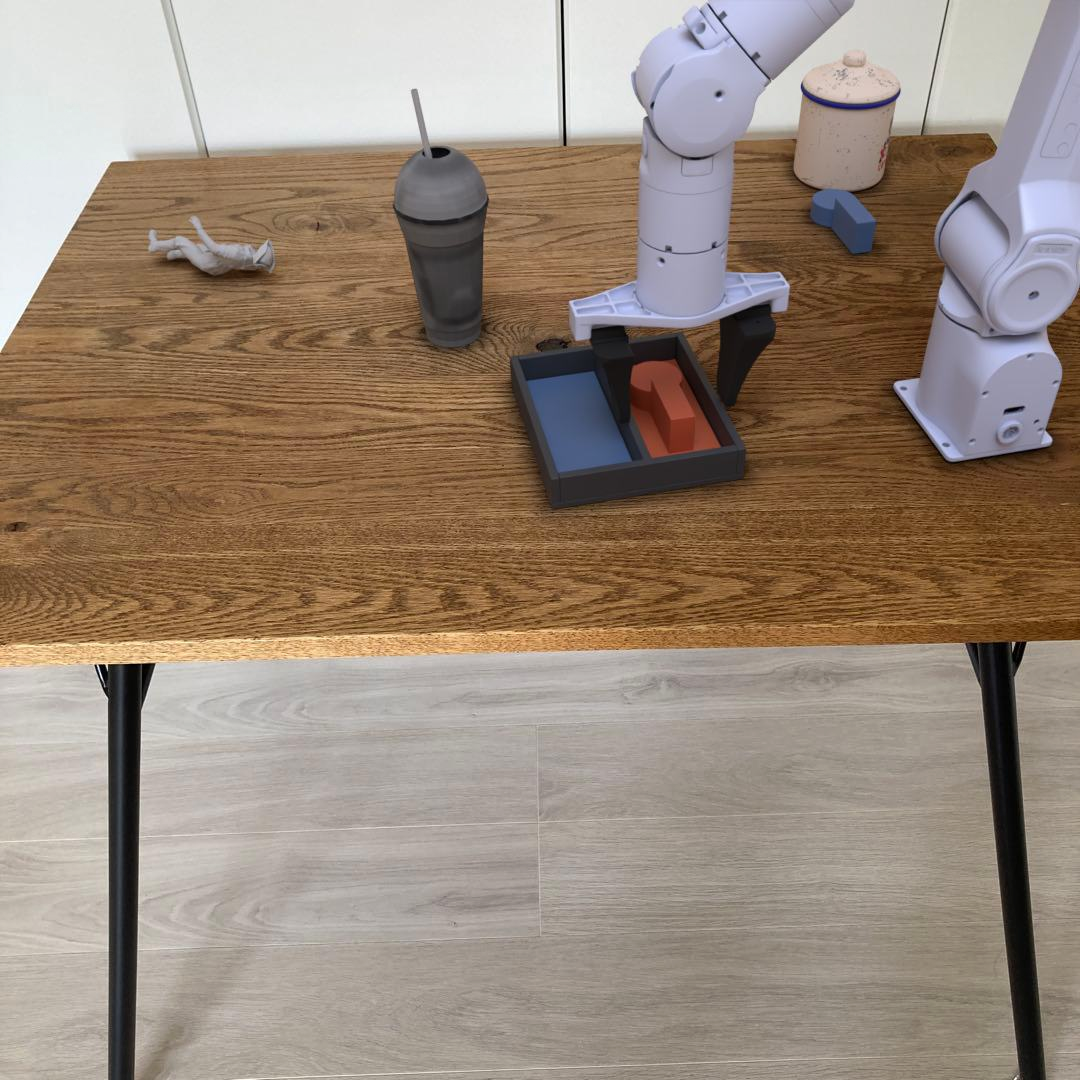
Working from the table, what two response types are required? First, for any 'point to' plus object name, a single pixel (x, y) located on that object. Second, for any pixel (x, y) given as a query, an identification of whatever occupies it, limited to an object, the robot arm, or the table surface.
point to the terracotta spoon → (664, 403)
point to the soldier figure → (214, 252)
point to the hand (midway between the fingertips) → (673, 407)
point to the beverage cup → (444, 237)
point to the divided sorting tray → (618, 426)
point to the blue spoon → (844, 218)
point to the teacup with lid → (845, 124)
